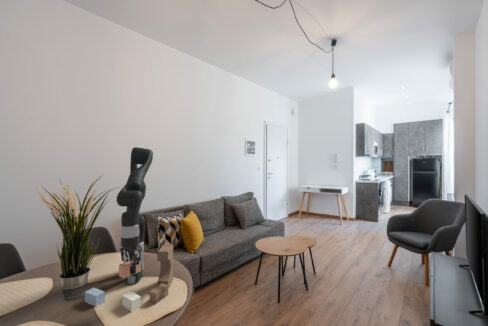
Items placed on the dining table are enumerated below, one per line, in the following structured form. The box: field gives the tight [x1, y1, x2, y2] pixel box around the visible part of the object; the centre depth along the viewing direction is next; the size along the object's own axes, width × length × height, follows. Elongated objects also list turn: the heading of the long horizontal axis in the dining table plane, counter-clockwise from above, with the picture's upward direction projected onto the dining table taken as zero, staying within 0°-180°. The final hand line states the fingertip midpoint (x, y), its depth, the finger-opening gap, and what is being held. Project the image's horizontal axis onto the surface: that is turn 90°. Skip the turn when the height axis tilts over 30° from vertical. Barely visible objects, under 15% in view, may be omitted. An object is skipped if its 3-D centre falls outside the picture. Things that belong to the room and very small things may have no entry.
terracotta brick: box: [118, 260, 141, 279], centre depth 103 cm, size 8×4×5 cm, turn 147°
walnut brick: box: [149, 283, 169, 305], centre depth 110 cm, size 8×4×5 cm, turn 156°
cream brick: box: [121, 290, 142, 313], centre depth 104 cm, size 8×4×5 cm, turn 56°
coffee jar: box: [124, 245, 143, 285], centre depth 126 cm, size 10×8×19 cm
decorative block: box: [156, 243, 174, 290], centre depth 122 cm, size 11×6×20 cm, turn 2°
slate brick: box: [84, 287, 106, 307], centre depth 107 cm, size 8×4×5 cm, turn 66°
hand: (130, 272), depth 104 cm, fingers closed on terracotta brick, 4 cm apart
